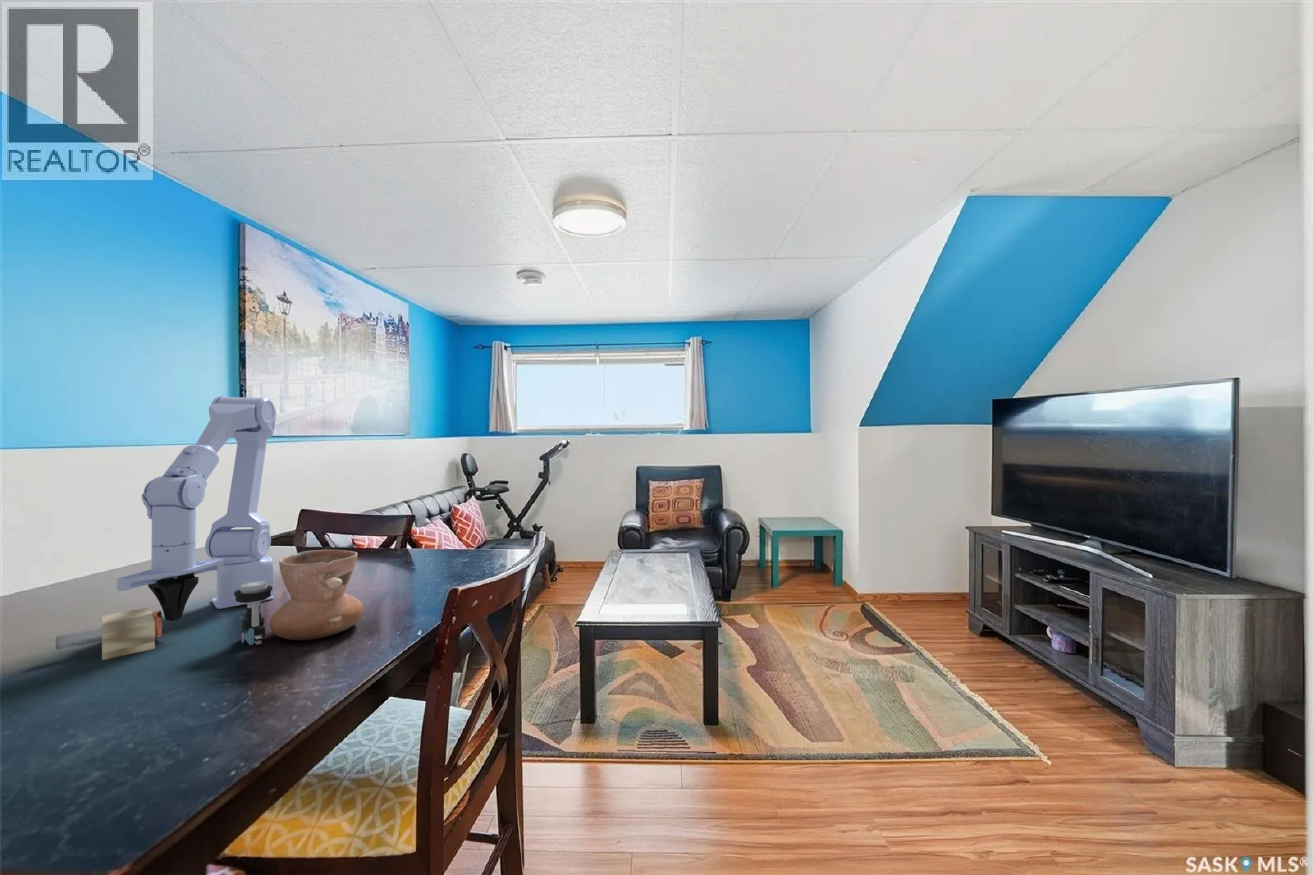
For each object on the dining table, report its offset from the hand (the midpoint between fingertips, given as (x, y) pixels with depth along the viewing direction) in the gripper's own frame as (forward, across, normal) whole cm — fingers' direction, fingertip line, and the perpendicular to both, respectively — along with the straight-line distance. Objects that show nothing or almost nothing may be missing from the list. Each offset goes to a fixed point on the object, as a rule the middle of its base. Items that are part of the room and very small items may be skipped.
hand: (173, 619), depth 91 cm
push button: (+3, -4, +16) cm, 16 cm away
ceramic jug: (+3, -11, +21) cm, 24 cm away
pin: (+3, +7, -3) cm, 8 cm away
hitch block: (+3, +5, -2) cm, 6 cm away
